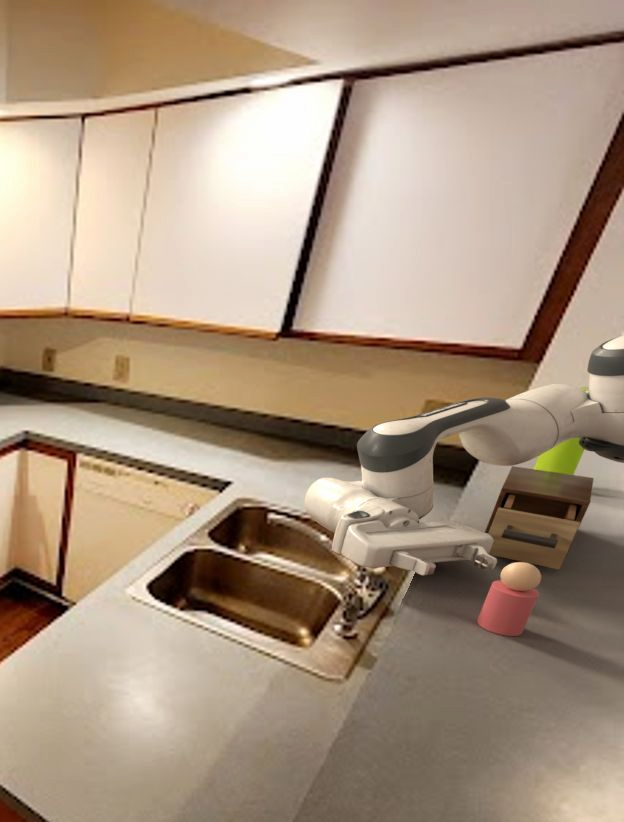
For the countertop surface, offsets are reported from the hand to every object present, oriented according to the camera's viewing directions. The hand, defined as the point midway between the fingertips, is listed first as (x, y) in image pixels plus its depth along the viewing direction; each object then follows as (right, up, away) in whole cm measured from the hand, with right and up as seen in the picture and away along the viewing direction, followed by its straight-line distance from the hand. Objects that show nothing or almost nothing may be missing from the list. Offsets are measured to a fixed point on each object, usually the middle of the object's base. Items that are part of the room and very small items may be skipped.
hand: (460, 567), depth 89 cm
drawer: (+21, +2, +12) cm, 24 cm away
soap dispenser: (+53, +15, +38) cm, 67 cm away
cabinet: (+30, +5, +20) cm, 36 cm away
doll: (+1, -8, -5) cm, 9 cm away
